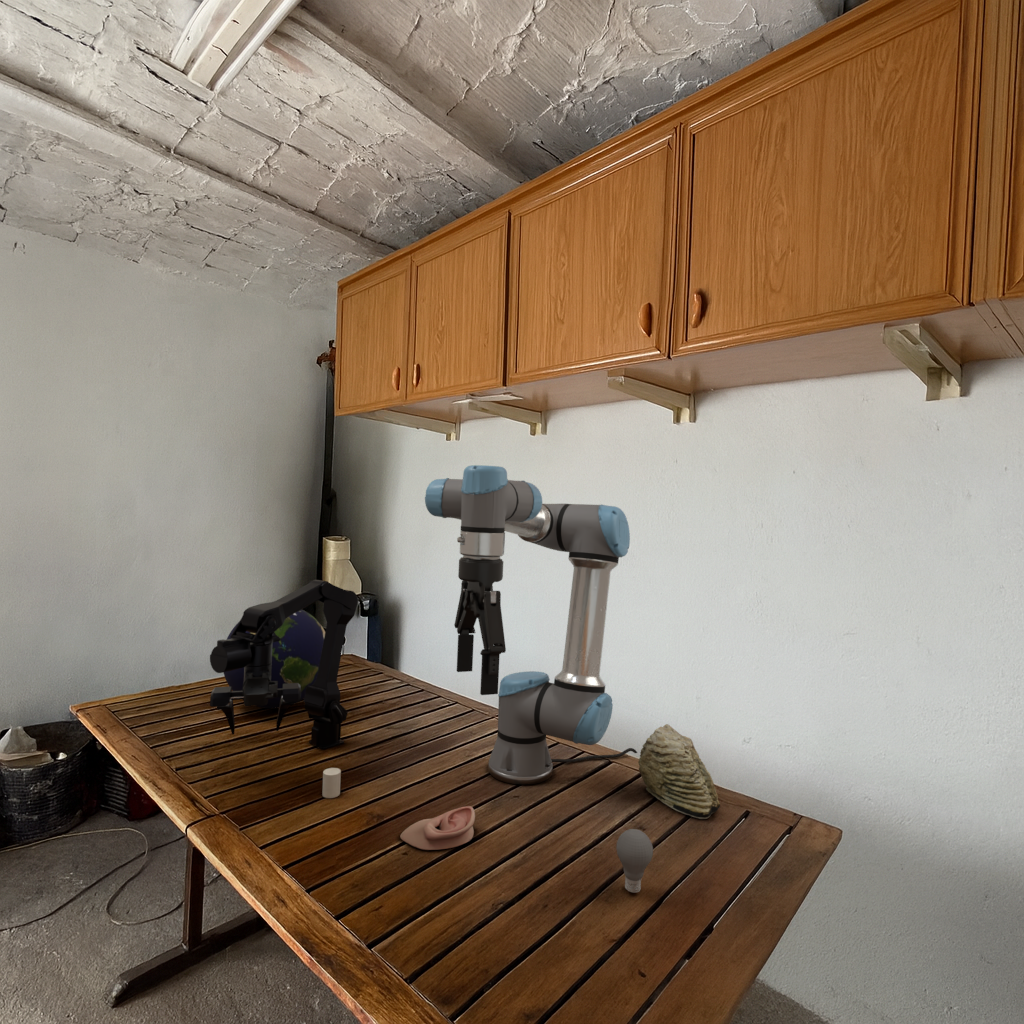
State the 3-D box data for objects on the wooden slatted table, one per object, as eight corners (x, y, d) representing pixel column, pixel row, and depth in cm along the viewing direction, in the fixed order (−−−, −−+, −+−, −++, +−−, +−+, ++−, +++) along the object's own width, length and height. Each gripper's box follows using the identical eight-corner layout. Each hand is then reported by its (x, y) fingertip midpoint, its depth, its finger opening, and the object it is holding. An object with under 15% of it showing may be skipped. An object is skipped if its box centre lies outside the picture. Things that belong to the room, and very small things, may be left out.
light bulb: (610, 879, 108) (613, 822, 108) (644, 879, 109) (647, 822, 109) (619, 902, 102) (622, 840, 102) (655, 901, 103) (658, 840, 103)
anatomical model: (394, 823, 116) (416, 795, 127) (393, 845, 116) (415, 815, 127) (464, 834, 113) (480, 805, 125) (463, 856, 113) (479, 825, 125)
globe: (289, 685, 209) (292, 594, 208) (348, 705, 191) (352, 606, 191) (199, 706, 185) (203, 604, 184) (258, 732, 167) (262, 619, 167)
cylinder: (318, 796, 134) (319, 773, 134) (328, 789, 137) (329, 766, 137) (333, 799, 133) (334, 776, 133) (343, 792, 136) (344, 769, 136)
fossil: (649, 780, 149) (652, 716, 148) (724, 809, 136) (728, 740, 135) (628, 791, 142) (631, 725, 142) (704, 823, 129) (708, 750, 129)
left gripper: (208, 675, 132) (205, 749, 132) (302, 670, 138) (300, 741, 139) (214, 661, 142) (211, 730, 143) (301, 658, 149) (298, 724, 149)
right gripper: (441, 550, 117) (436, 664, 118) (483, 565, 94) (477, 707, 94) (479, 550, 120) (474, 662, 120) (530, 565, 97) (524, 703, 97)
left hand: (255, 732), depth 143 cm, fingers open, 9 cm apart
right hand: (476, 682), depth 107 cm, fingers open, 13 cm apart
